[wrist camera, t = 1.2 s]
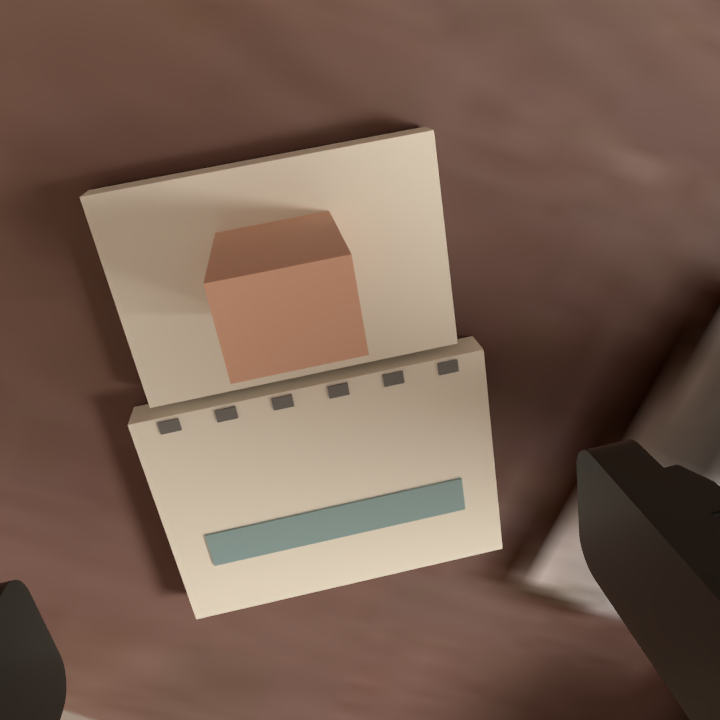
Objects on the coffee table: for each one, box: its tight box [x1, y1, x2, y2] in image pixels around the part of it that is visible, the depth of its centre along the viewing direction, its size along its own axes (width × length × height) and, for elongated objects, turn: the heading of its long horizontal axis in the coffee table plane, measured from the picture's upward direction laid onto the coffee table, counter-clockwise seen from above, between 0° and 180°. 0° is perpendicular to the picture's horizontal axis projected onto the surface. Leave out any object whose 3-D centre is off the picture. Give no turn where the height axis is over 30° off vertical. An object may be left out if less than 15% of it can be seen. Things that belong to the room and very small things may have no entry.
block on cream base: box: [80, 127, 458, 408], centre depth 22 cm, size 12×8×7 cm, turn 99°
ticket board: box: [128, 336, 503, 619], centre depth 29 cm, size 14×10×2 cm
